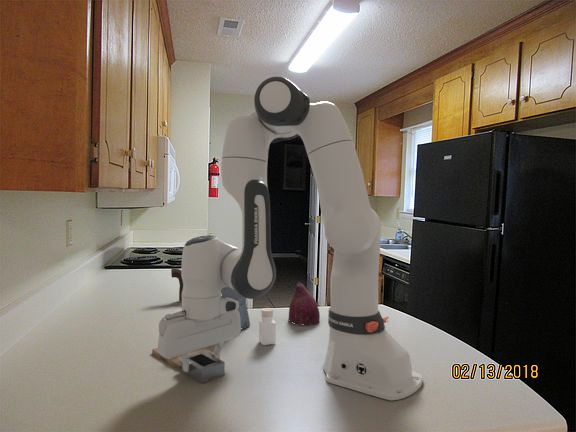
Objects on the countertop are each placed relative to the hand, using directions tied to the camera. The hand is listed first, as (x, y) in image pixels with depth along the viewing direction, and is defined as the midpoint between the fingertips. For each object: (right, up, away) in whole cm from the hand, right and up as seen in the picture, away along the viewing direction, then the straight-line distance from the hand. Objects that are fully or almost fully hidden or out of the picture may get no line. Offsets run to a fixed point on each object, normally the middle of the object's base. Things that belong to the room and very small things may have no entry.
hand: (202, 365), depth 88 cm
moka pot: (+3, -1, +33) cm, 33 cm away
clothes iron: (-18, +1, +65) cm, 67 cm away
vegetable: (+25, 0, +38) cm, 46 cm away
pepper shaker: (+14, -1, +18) cm, 23 cm away
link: (0, -2, 0) cm, 2 cm away
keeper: (-7, -1, +10) cm, 12 cm away
